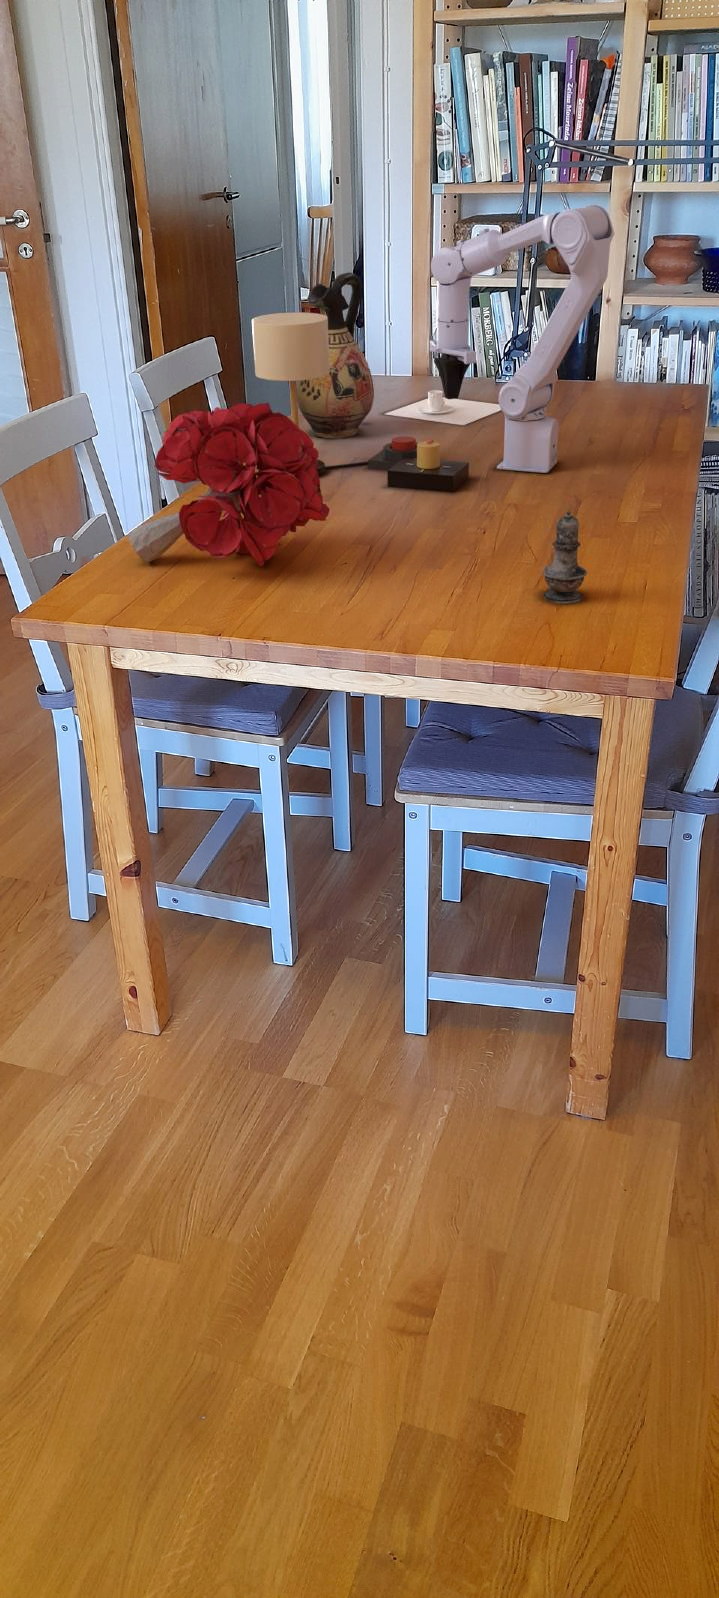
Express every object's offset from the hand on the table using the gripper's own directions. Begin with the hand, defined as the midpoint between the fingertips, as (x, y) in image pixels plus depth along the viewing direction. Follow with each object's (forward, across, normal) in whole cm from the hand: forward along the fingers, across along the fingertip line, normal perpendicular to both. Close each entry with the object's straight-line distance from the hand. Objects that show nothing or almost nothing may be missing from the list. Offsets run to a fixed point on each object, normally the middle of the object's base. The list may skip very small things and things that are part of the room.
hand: (451, 398), depth 221 cm
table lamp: (+10, -2, -27) cm, 29 cm away
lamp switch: (+7, +3, -11) cm, 14 cm away
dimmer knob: (+7, +15, -12) cm, 21 cm away
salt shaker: (+10, +73, -21) cm, 76 cm away
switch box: (+10, +3, -11) cm, 16 cm away
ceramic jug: (+11, -26, -12) cm, 31 cm away
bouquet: (+11, +37, -56) cm, 68 cm away
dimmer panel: (+10, +15, -12) cm, 22 cm away
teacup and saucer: (+11, -33, +16) cm, 39 cm away
